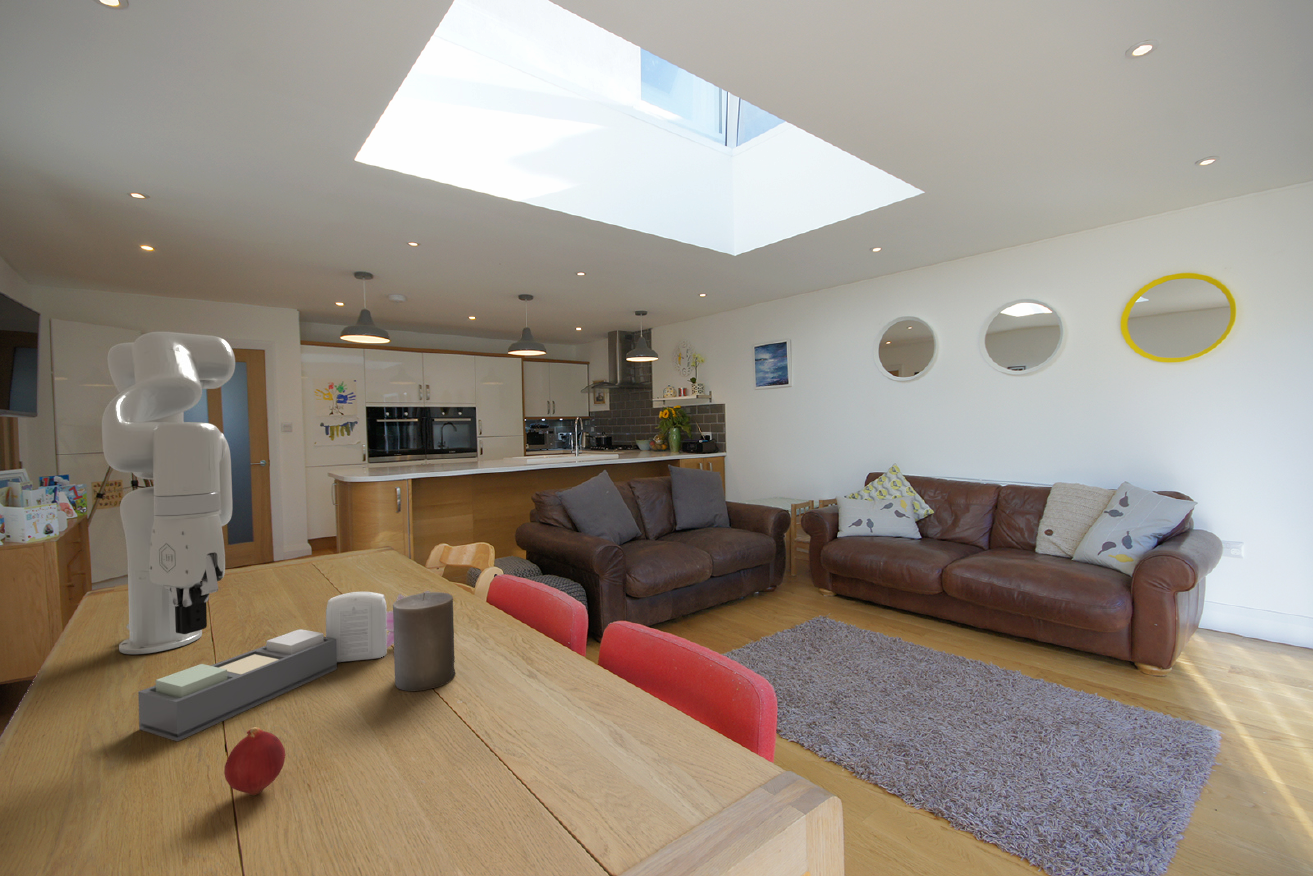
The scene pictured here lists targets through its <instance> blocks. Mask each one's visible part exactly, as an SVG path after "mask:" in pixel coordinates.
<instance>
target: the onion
mask: <svg viewBox="0 0 1313 876" xmlns="http://www.w3.org/2000/svg"><path fill="white" fill-rule="evenodd" d="M246 734H247V735H246V736H244V737H243V738H242V739H241V740H240V741H239V742H238V743H237V744H236V745H235V746H234V747H233V748H232V749H231V751H230V753H229V755H228V757H227V759H226V761H225V764H224V771H223V774H224V777H225V781H226V782H227V784H228V785H229V786H230V787H231V789H233V790H236V791H238V792H241V793H244V794H248V795H250V796H257V795H259V794H261V793H262V792H263V791H264V790H265V789H267V787H269V785H271V784H272V783H273V782H274V781H275V780H276V779H277V777H278V776H279V775H280V773H281V771H282V769H283V767H284V764H285V760H286V751H285V750H286V749H285V747H284V745H283V743H282V741H281V739H280V738H279V737H277V736H276V735H275V734H273V733H271V732H269V731H264V730H262V729H260V728H259V727H258V726H257V727H256V726H255V727H251V728H249V730H248V731H246Z"/></svg>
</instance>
